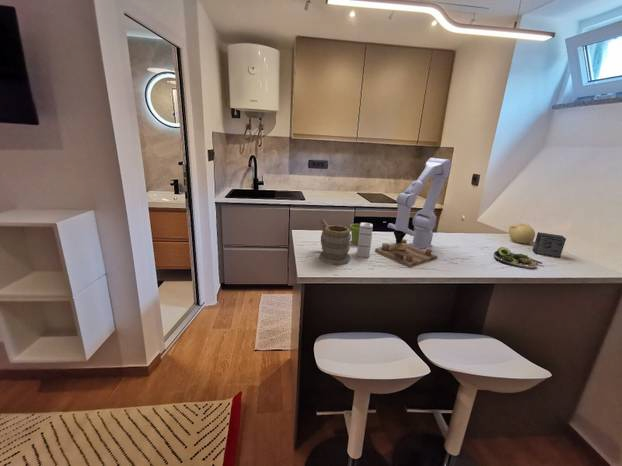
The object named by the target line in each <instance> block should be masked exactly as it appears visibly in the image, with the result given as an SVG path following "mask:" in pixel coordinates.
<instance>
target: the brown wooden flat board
mask: <svg viewBox="0 0 622 466" xmlns="http://www.w3.org/2000/svg"><path fill="white" fill-rule="evenodd" d="M407 241H408V240H407V239H405V238H403V239H402V241H401V243H405V244H406V245H407V248H406V250H383V249H382V246H380V247H376V248H374V252H375V253H378V254H380V255H382V256H384V257H386V258H389V259H391V260H393V261H395V262H397V263H399V264H402V265H403V266H406V267H409V268H412V267H416V266H418V265H421V264H425V263H427V262H431V261H434V260H437V259H438V255H437V254H434V253H433V252H432V251H433V250H432V249H431V248H425V250H424V249H420V248H418V247H415V246H413V245H410V244H409V243H407Z"/></svg>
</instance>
